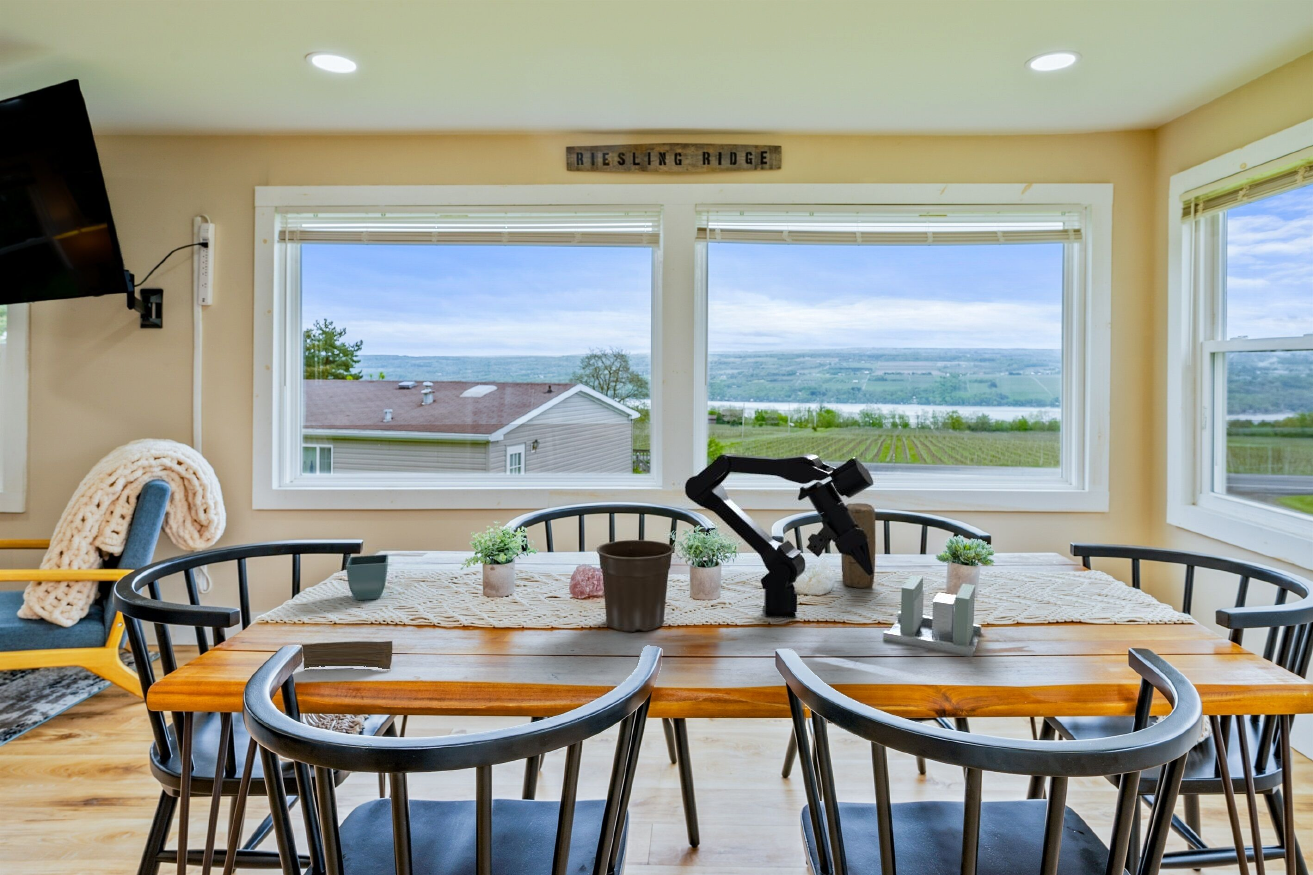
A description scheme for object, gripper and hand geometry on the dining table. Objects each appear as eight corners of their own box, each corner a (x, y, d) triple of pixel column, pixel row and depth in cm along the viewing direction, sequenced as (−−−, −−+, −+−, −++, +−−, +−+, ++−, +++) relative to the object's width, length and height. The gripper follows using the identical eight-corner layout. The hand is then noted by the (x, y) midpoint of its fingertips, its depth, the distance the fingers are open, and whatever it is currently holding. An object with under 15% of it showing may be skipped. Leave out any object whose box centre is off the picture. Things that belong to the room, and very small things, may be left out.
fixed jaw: (952, 648, 134) (954, 596, 133) (959, 632, 143) (961, 583, 142) (966, 651, 133) (968, 599, 132) (973, 634, 142) (975, 585, 141)
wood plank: (300, 674, 125) (299, 646, 125) (305, 669, 127) (304, 642, 127) (390, 671, 126) (389, 644, 126) (393, 667, 128) (392, 640, 128)
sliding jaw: (899, 637, 139) (901, 587, 138) (910, 622, 148) (911, 575, 147) (913, 640, 138) (915, 589, 137) (922, 624, 146) (924, 576, 146)
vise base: (882, 645, 138) (882, 632, 138) (898, 622, 151) (899, 610, 151) (971, 662, 130) (972, 649, 130) (981, 636, 143) (981, 624, 143)
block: (875, 590, 174) (878, 509, 172) (844, 588, 175) (846, 508, 173) (868, 577, 184) (870, 501, 183) (838, 576, 185) (840, 500, 184)
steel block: (931, 641, 138) (933, 600, 137) (936, 631, 143) (938, 592, 143) (950, 644, 136) (952, 603, 136) (955, 634, 141) (957, 595, 141)
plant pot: (620, 605, 162) (620, 535, 160) (685, 616, 155) (686, 543, 153) (582, 628, 147) (581, 552, 146) (652, 641, 140) (652, 561, 139)
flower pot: (389, 589, 173) (388, 553, 172) (388, 600, 165) (387, 562, 164) (350, 593, 170) (349, 556, 170) (347, 604, 162) (345, 565, 161)
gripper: (798, 525, 160) (835, 588, 157) (795, 529, 142) (837, 599, 139) (842, 501, 158) (881, 563, 155) (845, 501, 140) (888, 571, 137)
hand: (871, 574), depth 147 cm, fingers closed
